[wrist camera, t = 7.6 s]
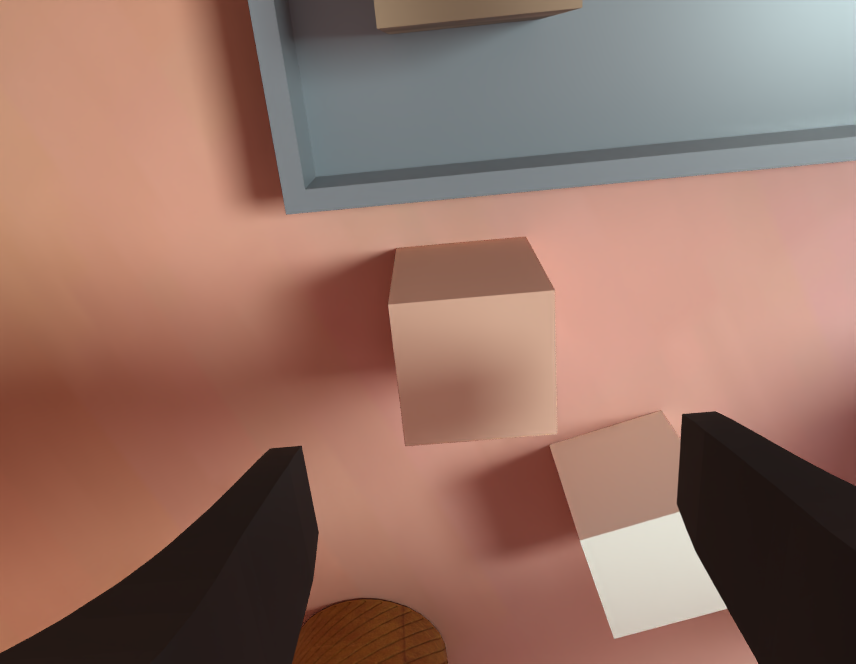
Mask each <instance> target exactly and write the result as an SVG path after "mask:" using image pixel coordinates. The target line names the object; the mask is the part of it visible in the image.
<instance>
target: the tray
mask: <svg viewBox="0 0 856 664" xmlns="http://www.w3.org/2000/svg"><path fill="white" fill-rule="evenodd" d="M248 4H249V10H250V16H251V21H252V27H253V32H254V38H255V43H256V49H257V55H258V60H259V66H260V71H261V77H262V82H263V88H264V94H265V99H266V105H267V110H268V116H269V121H270V127H271V133H272V138H273V144H274V149H275V155H276V160H277V166H278V172H279V177H280V183H281V188H282V194H283V199H284V205H285V211H286V214H297V213H308V212H318V211H329V210H339V209H350V208H360V207H371V206H381V205H392V204H402V203H413V202H423V201H434V200H444V199H455V198H465V197H476V196H486V195H497V194H507V193H518V192H528V191H539V190H549V189H560V188H570V187H581V186H592V185H602V184H613V183H623V182H634V181H644V180H655V179H665V178H676V177H686V176H697V175H707V174H718V173H728V172H739V171H749V170H760V169H770V168H781V167H791V166H802V165H812V164H823V163H833V162H844V161H855V160H856V0H582V8H579V9H576V10H572V11H568V12H565V13H561V14H557V15H554V16H550V17H546V18H543V19H536V20H527V21H517V22H507V23H497V24H487V25H477V26H468V27H458V28H448V29H438V30H428V31H419V32H409V33H399V34H387V33H385V32H383V31H381V30H379V29H377V25H376V16H375V7H374V0H248Z"/></svg>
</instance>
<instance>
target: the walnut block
mask: <svg viewBox="0 0 856 664" xmlns="http://www.w3.org/2000/svg"><path fill="white" fill-rule="evenodd" d="M374 7H375V16H376V25H377V29H379V30H381V31H383V32H385V33H387V34H399V33H409V32H419V31H428V30H438V29H448V28H458V27H468V26H477V25H487V24H497V23H507V22H517V21H527V20H536V19H543V18H546V17H550V16H554V15H557V14H561V13H565V12H568V11H572V10H576V9H579V8H582V0H374Z"/></svg>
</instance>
